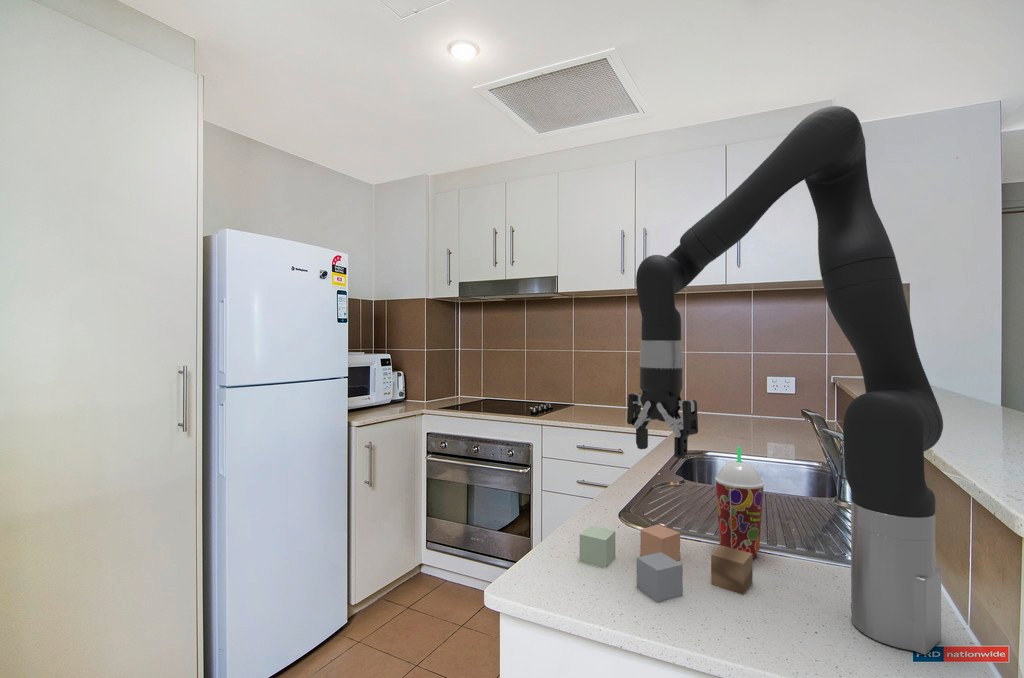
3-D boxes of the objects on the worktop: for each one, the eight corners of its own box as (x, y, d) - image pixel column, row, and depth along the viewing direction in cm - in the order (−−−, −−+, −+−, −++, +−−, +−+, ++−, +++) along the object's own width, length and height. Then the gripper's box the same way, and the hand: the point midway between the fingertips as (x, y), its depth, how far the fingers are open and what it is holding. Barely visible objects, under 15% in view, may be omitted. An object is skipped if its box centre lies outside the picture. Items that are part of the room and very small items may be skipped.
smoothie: (758, 567, 87) (758, 454, 87) (709, 554, 92) (709, 447, 92) (767, 551, 94) (767, 446, 94) (721, 540, 99) (721, 440, 99)
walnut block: (752, 583, 82) (752, 553, 82) (743, 595, 78) (743, 563, 78) (721, 574, 85) (721, 545, 85) (711, 585, 81) (711, 554, 81)
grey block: (682, 596, 78) (682, 564, 78) (657, 603, 75) (657, 570, 75) (660, 582, 82) (661, 552, 82) (636, 588, 80) (636, 557, 80)
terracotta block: (680, 560, 90) (680, 532, 90) (662, 567, 88) (662, 538, 88) (658, 550, 94) (658, 524, 94) (640, 556, 92) (640, 529, 92)
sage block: (615, 557, 91) (615, 530, 91) (605, 568, 87) (605, 540, 87) (589, 551, 94) (590, 525, 94) (579, 561, 90) (579, 534, 90)
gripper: (707, 366, 87) (706, 458, 87) (644, 362, 99) (644, 443, 99) (680, 367, 83) (679, 464, 83) (618, 363, 95) (617, 448, 95)
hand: (660, 452), depth 91 cm, fingers open, 8 cm apart
